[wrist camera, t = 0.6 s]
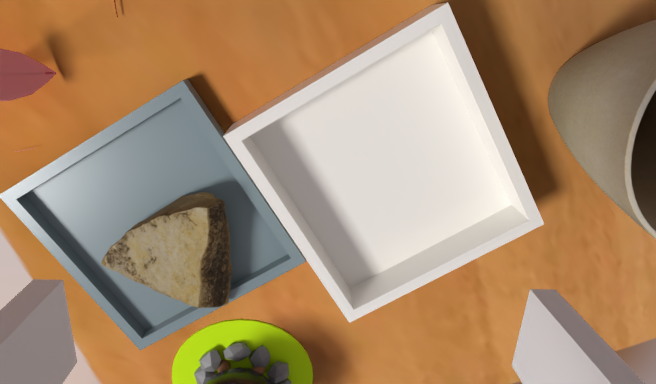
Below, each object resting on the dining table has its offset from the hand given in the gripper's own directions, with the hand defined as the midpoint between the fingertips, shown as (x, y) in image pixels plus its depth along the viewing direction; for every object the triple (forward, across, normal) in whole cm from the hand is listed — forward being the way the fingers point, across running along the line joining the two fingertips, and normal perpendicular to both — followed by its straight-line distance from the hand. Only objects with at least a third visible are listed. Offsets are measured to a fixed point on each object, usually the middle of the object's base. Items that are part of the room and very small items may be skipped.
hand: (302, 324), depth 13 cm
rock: (+29, -16, -12) cm, 35 cm away
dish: (+28, +7, -3) cm, 29 cm away
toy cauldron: (+28, -6, -28) cm, 40 cm away
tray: (+28, -12, -10) cm, 32 cm away
